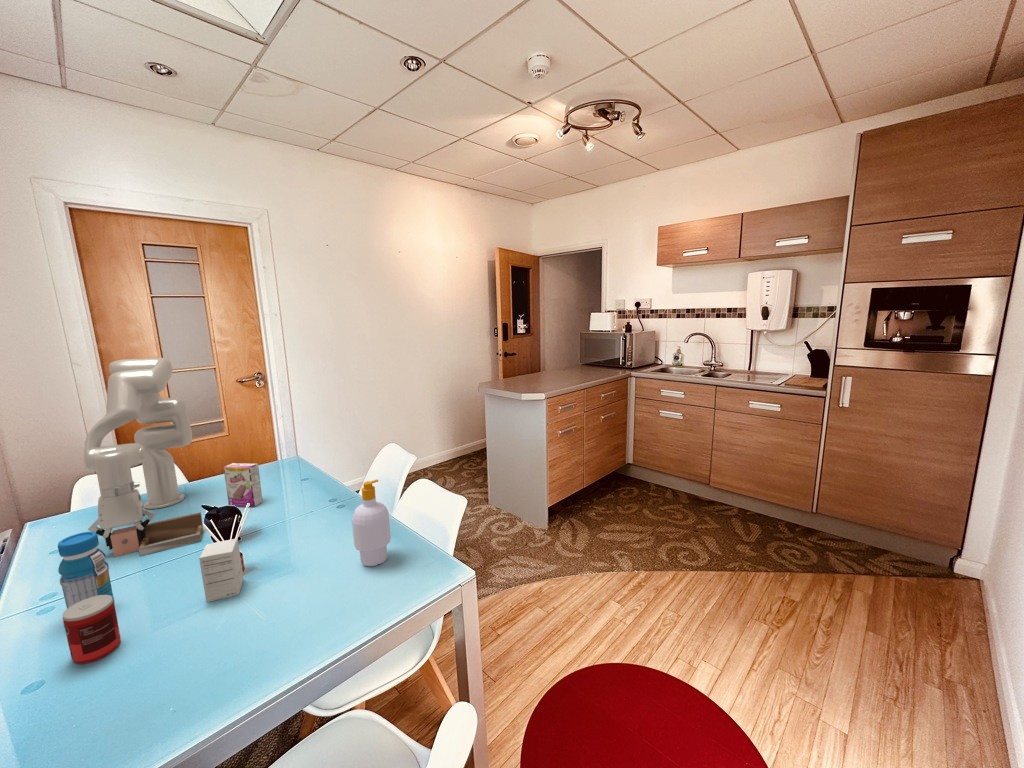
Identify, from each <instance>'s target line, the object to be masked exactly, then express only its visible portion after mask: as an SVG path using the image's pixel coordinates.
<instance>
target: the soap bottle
mask: <svg viewBox="0 0 1024 768" xmlns="http://www.w3.org/2000/svg"><path fill="white" fill-rule="evenodd" d="M378 482H379V479H374V480H371V481H370V480H369V481H365V482H363V483H362V485H363V487H362V488H361V500H362V504H359V505H358V506H357V507H356V508H355V509H354V512H353V515H352V519H351V526H352V537H353V546H354V548H355V549H356V550H357V551H359V560H360V563H361V565H363V566H366V567H376V566H378V564H379V565H381V564H383V563H384V562H385V561H386V560H387V558H388V548H387V546H388V544H389V543H390V542H391V526H390V525H391V523H390V513H389V509H388V508H387V506H386V505H385V504H384V503H383V502H381V501H377V498H376V489H375V488H376V487H375V486H374V485H373V484H374V483H378ZM382 562H383V563H382Z"/></svg>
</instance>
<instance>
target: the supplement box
mask: <svg viewBox="0 0 1024 768" xmlns="http://www.w3.org/2000/svg"><path fill="white" fill-rule="evenodd" d="M198 558H199V565H200V572H201V578H202V584H203V590H204V595H205V600H206V601H205V602H207V603H209V602H213V601H218V600H223V599H226V598H230V597H234V596H238V595H239V594H240V592H241V589H242V586H243V582H244V573H243V565H242V559H241V552H240V545H239V539H238V538H232V539H228V540H227V539H226V540H222V541H216V542H213V543H212V542H211V543H208V544H206V545H205V546H204V548H203V550H202V553H200V556H199V557H198Z"/></svg>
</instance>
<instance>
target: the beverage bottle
mask: <svg viewBox="0 0 1024 768" xmlns="http://www.w3.org/2000/svg"><path fill="white" fill-rule="evenodd" d="M99 542H100V541H99V535H98V534H97V533H96V532H92V531H84V532H79V533H76V534H72V535H69V536H67V537H65V538H63V539H61V540H60V541H58V543H57V550H58V554H59V556H60V557H61V558H62V560H61V561H60V563H59V566H58V569H57V571H58V572H57V573H58V574H59V575H60V577H59V584H60V586H61V589H62V592H63V598H64V601H65V607H66V609H68V608H69V607H70V606H72V605H74V604H76V603H78V602H80V601H82V600H84V599H87V598H90V597H94V596H98V595H110V596H112V598H113V601H114V604H115V603H116V601H115V596H114V593H113V588H112V582H111V576H110V571H109V569H110V567H109V564H108V562H107V561H106V559H107V556H106V554H105V553H104V551H103V550H101V549H100V548H99V546H100V545H99V544H100V543H99Z"/></svg>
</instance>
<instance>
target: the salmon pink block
mask: <svg viewBox="0 0 1024 768" xmlns="http://www.w3.org/2000/svg"><path fill="white" fill-rule="evenodd" d="M137 531H138V528H137V527H136V526H135V525H133V526H128V527H123V528H118V529H115V530H113V529H112V531H111V533H112V534H111V535H110V537H111V542H112V547H113V549H112V553H113V557H119V556H124V555H126V554H130V553H134V552H139V547H140V545H141V543H142V542H139V540H138V535H137Z"/></svg>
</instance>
